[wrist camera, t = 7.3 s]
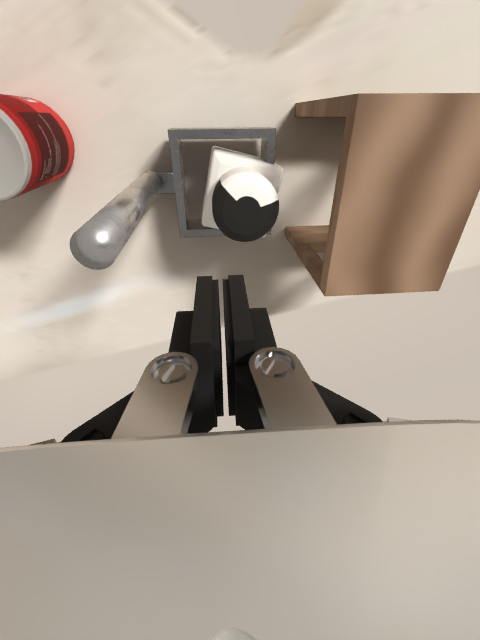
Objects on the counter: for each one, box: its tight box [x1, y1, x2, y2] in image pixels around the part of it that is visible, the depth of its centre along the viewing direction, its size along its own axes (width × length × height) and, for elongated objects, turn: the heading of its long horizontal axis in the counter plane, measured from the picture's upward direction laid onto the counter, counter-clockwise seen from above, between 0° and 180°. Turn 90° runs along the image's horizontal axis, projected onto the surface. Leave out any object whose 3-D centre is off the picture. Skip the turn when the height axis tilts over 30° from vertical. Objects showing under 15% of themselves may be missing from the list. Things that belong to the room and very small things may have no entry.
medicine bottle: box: [202, 146, 284, 242], centre depth 32 cm, size 7×7×12 cm
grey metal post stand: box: [70, 127, 276, 270], centre depth 26 cm, size 14×10×21 cm
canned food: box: [0, 94, 74, 201], centre depth 28 cm, size 8×8×11 cm
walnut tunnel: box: [286, 93, 480, 296], centre depth 30 cm, size 11×14×16 cm
